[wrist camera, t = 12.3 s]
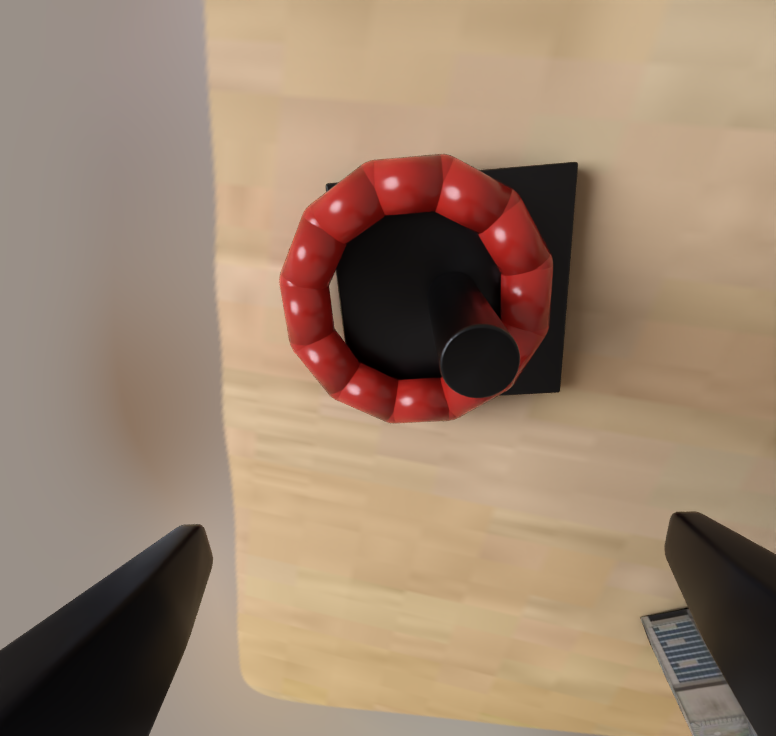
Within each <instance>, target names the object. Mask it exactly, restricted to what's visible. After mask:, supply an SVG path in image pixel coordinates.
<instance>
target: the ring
mask: <svg viewBox="0 0 776 736" xmlns="http://www.w3.org/2000/svg"><path fill="white" fill-rule="evenodd" d="M427 212H436V213H438V214H440V215H442V216H444V217H446V218H448V219H450V220H452V221H453V222H455V223H457V224H459V225H461V226H463V227H465V228H467V229H469V230H471V231H473V232H475V233H477V234H478V235H479V237H480V239H481V240H482V242H483V244H484V246H485V247H486V249H487V251H488V252H489V254H490V256H491V257H492V259H493V261H494V263H495V264H496V266H497V268H498V269H499V271H500V273H501V300H500V320H501V321H502V323H503V324H504V326H505V327H506V328H507V330H508V331H509V333H510V334H511V336H512V337H513V338H514V340H515V341H516V343H517V345H518V348H519V352H520V365H519V369H518V372H517V374H516V376H515V378H514V379H513V381H512V382H511V383H510V384H509V385H508V386H507V387H506V388H505V389H504V390H502V391H501V392H499V393H497V394H495V395H493V396H490V397H485V398H470V397H466V396H463V395H460V394H458V393H456V392H455V391H453V390H452V389H451V388H450V387H449V386H448V385H447V384H446V383H445V381H444V379H443V378H442V377H436V378H418V379H399V380H398V379H396V378H394V377H391V376H389V375H387V374H385V373H383V372H380V371H378V370H376V369H374V368H372V367H369V366H367V365H365V364H363V363H361V362H359V360H358V359H357V358H356V356H355V355H354V354H353V352H352V351H351V350H350V348H349V347H348V346H347V345H346V343H345V342H344V341H343V339H342V338H341V337H340V335H339V334H338V333H337V331H336V330H335V329H334V321H333V313H332V305H331V298H330V290H329V285H330V282H331V280H332V278H333V275H334V273H335V271H336V268H337V266H338V263H339V261H340V259H341V256H342V254H343V252H344V249H345V247H346V245H347V244H348V243H349V242H350V241H352V240H353V239H355V238H356V237H357V236H359V235H360V234H361V233H363V232H364V231H366V230H367V229H368V228H370V227H371V226H372V225H374V224H375V223H377V222H378V221H379V220H381V219H382V218H384V217H385V216H390V215H402V214H415V213H427ZM552 278H553V258H552V255H551V253H550V251H549V249H548V247H547V245H546V243H545V241H544V240H543V238H542V236H541V234H540V232H539V230H538V228H537V226H536V225H535V223H534V221H533V219H532V217H531V215H530V213H529V212H528V210H527V208H526V206H525V204H524V202H523V200H522V198H521V197H520V195H519V194H518V193H517V192H516V191H515V190H514V189H512V188H511V187H509V186H507V185H505V184H503V183H501V182H500V181H498V180H496V179H494V178H492V177H490V176H489V175H487V174H485V173H483V172H481V171H479V170H477V169H476V168H474V167H472V166H470V165H468V164H466V163H464V162H463V161H461V160H459V159H457V158H455V157H453V156H451V155H447V154H435V155H424V156H413V157H401V158H390V159H379V160H371V161H368V162H366V163H364V164H362V165H361V166H359V167H358V168H357V169H356V170H354V171H353V172H352V173H350V174H349V175H348V176H347V177H345V178H344V179H343V180H341V181H340V182H339V183H337V184H336V185H335V186H334V187H332V188H331V189H330V190H328V191H327V192H326V193H324V194H323V195H322V196H321V197H319V198H318V199H317V200H315V201H314V202H313V203H312V204H310V205H309V206H308V207H307V208H306V210H305V211H304V213H303V215H302V218H301V220H300V223H299V225H298V228H297V231H296V233H295V236H294V239H293V241H292V244H291V247H290V249H289V252H288V255H287V257H286V260H285V263H284V265H283V268H282V270H281V273H280V279H279V283H280V290H281V295H282V301H283V307H284V313H285V318H286V324H287V330H288V336H289V341H290V345H291V347H292V349H293V351H294V352H295V353H296V354H297V356H298V357H299V358H300V359H301V361H302V362H303V363H304V364H305V366H306V367H307V368H308V369H309V371H310V372H311V373H312V374H313V376H314V377H315V378H316V379H317V380H318V382H319V383H320V384H321V385H322V387H323V388H324V389H325V390H326V392H327V393H328V394H329V395H330V396H331V397H332V398H334V399H335V400H337V401H340V402H342V403H344V404H346V405H349V406H351V407H353V408H356V409H358V410H360V411H363V412H365V413H367V414H369V415H372V416H374V417H376V418H379V419H381V420H383V421H385V422H389V423H412V422H432V421H450V420H455V419H457V418H459V417H461V416H463V415H464V414H466V413H468V412H470V411H472V410H473V409H475V408H477V407H479V406H481V405H482V404H484V403H486V402H488V401H490V400H491V399H493V398H495V397H497V396H499V395H500V394H502V393H504V392H506V391H507V390H509V389H510V388H511V387H512V386H513V385H514V383H515V382H516V380H517V379H518V377H519V376H520V374H521V373H522V371H523V370H524V368H525V367H526V365H527V364H528V362H529V361H530V359H531V358H532V356H533V355H534V353H535V352H536V350H537V349H538V347H539V345H540V344H541V342H542V341H543V339H544V338H545V336H546V335H547V333H548V330H549V323H550V308H551V293H552Z"/></svg>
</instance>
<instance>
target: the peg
mask: <svg viewBox="0 0 776 736" xmlns="http://www.w3.org/2000/svg"><path fill="white" fill-rule="evenodd" d="M577 170H578V163H577V162H568V163H556V164H545V165H533V166H522V167H510V168H499V169H487V170H479V171H481V172H483V173H485V174H487V175H489V176H490V177H492V178H494V179H496V180H498V181H500V182H501V183H503V184H505V185H507V186H509V187H511V188H512V189H514V190H515V191H516V192H517V193H518V194H519V195H520V197H521V198H522V200H523V202H524V204H525V206H526V208H527V210H528V212H529V213H530V215H531V217H532V219H533V221H534V223H535V225H536V226H537V228H538V230H539V232H540V234H541V236H542V238H543V240H544V241H545V243H546V245H547V247H548V249H549V251H550V253H551V255H552V258H553V278H552V293H551V308H550V323H549V330H548V333H547V335H546V336H545V338H544V339H543V341H542V342H541V344H540V345H539V347H538V349H537V350H536V352H535V353H534V355H533V356H532V358H531V359H530V361H529V362H528V364H527V365H526V367H525V368H524V370H523V371H522V373H521V374H520V376H519V377H518V379H517V380H516V382H515V383H514V385H513V386H512V387H511V388H510V389H509V390H507V391H506V392H504V393H502V394H500V395H518V394H537V393H556V392H560V385H561V372H562V360H563V347H564V334H565V322H566V309H567V296H568V284H569V271H570V258H571V246H572V233H573V220H574V208H575V195H576V182H577ZM338 183H339V182H338ZM336 184H337V183H328V184H326V192H327V191H328V190H330V189H331V188H332V187H334V186H335V185H336ZM336 274H337V282H338V290H339V299H340V307H341V315H342V323H343V331H344V339H345V343H346V345H347V346H348V347H349V348H350V350H351V351H352V352H353V354H354V355H355V356H356V358H357V359H358V360H359V362H361V363H363V364H365V365H367V366H369V367H372V368H374V369H376V370H378V371H380V372H383V373H385V374H387V375H389V376H391V377H394V378H396V379H398V380H399V379H418V378H436V377H442V378H443V379H444V381H445V383H446V384H447V385H448V386H449V387H450V388H451V389H452V390H453V391H455V392H456V393H458V394H460V395H463V396H466V397H470V398H485V397H490V396H493V395H495V394H497V393H499V392H501V391H502V390H504V389H505V388H506V387H507V386H508V385H509V384H510V383H511V382H512V381H513V379H514V378H515V376H516V374H517V372H518V369H519V365H520V352H519V348H518V345H517V343H516V341H515V340H514V338H513V337H512V336H511V334H510V333H509V331H508V330H507V328H506V327H505V326H504V324H503V323H502V321H501V320H500V300H501V273H500V271H499V269H498V268H497V266H496V264H495V263H494V261H493V259H492V257H491V256H490V254H489V252H488V251H487V249H486V247H485V246H484V244H483V242H482V240H481V239H480V237H479V235H478V234H477V233H475V232H473V231H471V230H469V229H467V228H465V227H463V226H461V225H459V224H457V223H455V222H453V221H452V220H450V219H448V218H446V217H444V216H442V215H440V214H438V213H436V212H427V213H415V214H402V215H390V216H385V217H384V218H382V219H381V220H379V221H378V222H377V223H375V224H374V225H372V226H371V227H370V228H368V229H367V230H366V231H364V232H363V233H361V234H360V235H359V236H357V237H356V238H355V239H353V240H352V241H350V242H349V243H348V244H347V245H346V247H345V249H344V252H343V254H342V256H341V259H340V261H339V263H338V266H337V268H336ZM500 395H499V396H500Z"/></svg>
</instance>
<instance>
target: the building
mask: <svg viewBox="0 0 776 736" xmlns="http://www.w3.org/2000/svg"><path fill="white" fill-rule="evenodd" d="M640 618H641V621H642V623H643V626H644V629H645V631H646V634H647V637H648V640H649V642H650V645H651V647H652V649H653V651H654V653H655V655H656V657H657V660H658V662H659V664H660V666H661V668H662V670H663V673H664V675H665V677H666V679H667V681H668V683H669V686H670V688H671V690H672V692H673V694H674V696H675V698H676V701H677V703H678V705H679V707H680V709H681V711H682V714H683V716H684V718H685V720H686V722H687V724H688V727H689V729H690V731H691V733H692V735H693V736H757V734H756V732H755V731H754V729H753V727H752V725H751V724H750V722H749V720H748V718H747V717H746V715H745V713H744V711H743V710H742V708H741V706H740V704H739V703H738V701H737V699H736V697H735V696H734V694H733V692H732V690H731V689H730V687H729V685H728V683H727V682H726V680H725V678H724V676H723V675H722V673H721V671H720V669H719V668H718V666H717V664H716V662H715V661H714V659H713V657H712V655H711V653H710V652H709V650H708V648H707V646H706V644H705V642H704V640H703V638H702V636H701V634H700V632H699V630H698V628H697V625H696V623H695V621H694V619H693V617H692V614H691V612H690V610H689V609H683V610H678V611H673V612H667V613H662V614H656V615H651V616H645V617H640Z"/></svg>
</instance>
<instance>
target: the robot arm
mask: <svg viewBox="0 0 776 736" xmlns="http://www.w3.org/2000/svg"><path fill="white" fill-rule="evenodd" d="M665 555H666V559H667V561H668V563H669V566H670V568H671V570H672V572H673V575H674V577H675V579H676V581H677V583H678V586H679V588H680V590H681V592H682V594H683V597H684V599H685V601H686V603H687V605H688V608H689V610H690V612H691V614H692V617H693V619H694V621H695V623H696V625H697V628H698V630H699V632H700V634H701V636H702V638H703V640H704V642H705V644H706V646H707V648H708V650H709V652H710V653H711V655H712V657H713V659H714V661H715V662H716V664H717V666H718V668H719V669H720V671H721V673H722V675H723V676H724V678H725V680H726V682H727V683H728V685H729V687H730V689H731V690H732V692H733V694H734V696H735V697H736V699H737V701H738V703H739V704H740V706H741V708H742V710H743V711H744V713H745V715H746V717H747V718H748V720H749V722H750V724H751V725H752V727H753V729H754V731H755V732H756V734H757V736H776V554H774V553H772V552H770V551H769V550H767V549H765V548H763V547H761V546H759V545H758V544H756V543H754V542H752V541H750V540H749V539H747V538H745V537H743V536H741V535H740V534H738V533H736V532H734V531H732V530H731V529H729V528H727V527H725V526H723V525H721V524H720V523H718V522H716V521H714V520H712V519H711V518H709V517H707V516H705V515H703V514H701V513H699V512H694V511H692V512H675V513H673V514H672V516H671V518H670V522H669V526H668V531H667V536H666V541H665ZM212 564H213V556H212V552H211V548H210V545H209V542H208V538H207V535H206V532H205V529H204V527H203V526H202V525H200V524H188V525H181V526H179V527H177V528H176V529H174V530H173V531H171V532H170V533H168V534H167V535H166V536H164V537H163V538H161V539H160V540H158V541H157V542H156V543H154V544H153V545H151V546H150V547H148V548H147V549H145V550H144V551H143V552H141V553H140V554H138V555H137V556H136V557H134V558H132V559H131V560H130V561H128V562H127V563H125V564H124V565H122V566H121V567H120V568H118V569H117V570H115V571H114V572H112V573H111V574H110V575H108V576H107V577H105V578H104V579H102V580H101V581H99V582H98V583H97V584H95V585H94V586H92V587H91V588H89V589H88V590H86V591H85V592H84V593H82V594H81V595H79V596H78V597H76V598H75V599H73V600H72V601H71V602H69V603H68V604H66V605H65V606H63V607H62V608H60V609H59V610H58V611H56V612H55V613H54V614H52V615H50V616H49V617H47V618H46V619H45V620H43V621H42V622H40V623H39V624H37V625H36V626H34V627H33V628H32V629H30V630H29V631H27V632H26V633H24V634H23V635H22V636H20V637H19V638H17V639H16V640H14V641H13V642H11V643H10V644H9V645H7V646H6V647H4V648H3V649H2V650H0V736H149V734H150V731H151V729H152V727H153V724H154V722H155V720H156V717H157V715H158V712H159V710H160V708H161V705H162V703H163V701H164V698H165V696H166V694H167V691H168V689H169V687H170V684H171V682H172V680H173V677H174V675H175V672H176V670H177V668H178V666H179V663H180V661H181V659H182V656H183V653H184V651H185V649H186V646H187V643H188V640H189V637H190V635H191V632H192V628H193V625H194V622H195V619H196V616H197V613H198V610H199V606H200V603H201V600H202V597H203V594H204V591H205V588H206V584H207V581H208V578H209V575H210V572H211V569H212Z"/></svg>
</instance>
